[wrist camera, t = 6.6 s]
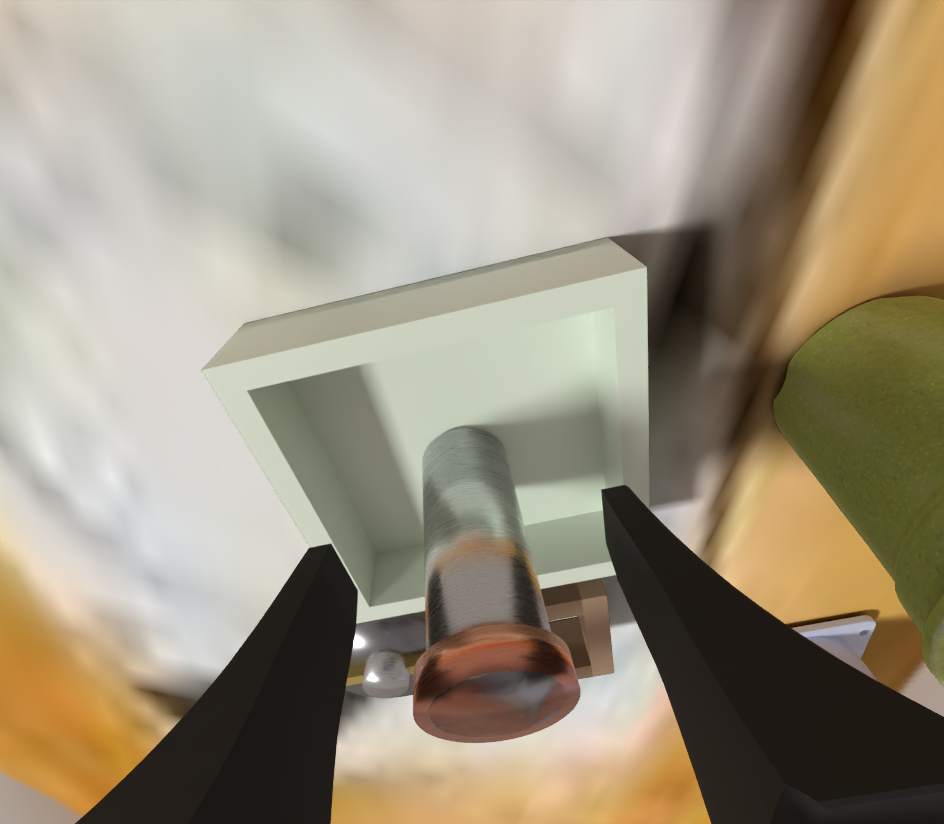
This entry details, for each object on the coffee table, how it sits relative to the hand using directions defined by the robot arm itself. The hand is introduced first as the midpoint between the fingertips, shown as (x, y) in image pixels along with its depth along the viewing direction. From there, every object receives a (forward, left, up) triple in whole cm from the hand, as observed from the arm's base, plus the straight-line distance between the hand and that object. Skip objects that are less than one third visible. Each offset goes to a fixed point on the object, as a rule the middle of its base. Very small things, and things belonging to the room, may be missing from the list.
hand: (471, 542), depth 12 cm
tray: (0, 0, -5) cm, 5 cm away
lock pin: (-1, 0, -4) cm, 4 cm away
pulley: (-10, +6, -5) cm, 13 cm away
